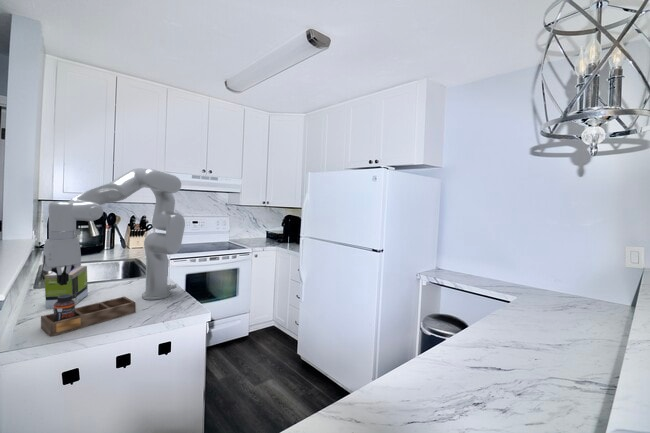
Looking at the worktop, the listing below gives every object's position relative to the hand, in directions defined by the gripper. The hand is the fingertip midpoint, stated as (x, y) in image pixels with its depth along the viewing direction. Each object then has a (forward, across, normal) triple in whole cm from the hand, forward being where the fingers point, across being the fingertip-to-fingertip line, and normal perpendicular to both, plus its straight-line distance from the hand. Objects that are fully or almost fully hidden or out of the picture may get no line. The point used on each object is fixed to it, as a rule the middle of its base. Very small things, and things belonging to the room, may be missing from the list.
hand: (62, 284), depth 111 cm
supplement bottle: (+16, 0, 0) cm, 16 cm away
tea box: (+17, -10, -28) cm, 34 cm away
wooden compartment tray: (+17, -9, 0) cm, 19 cm away
